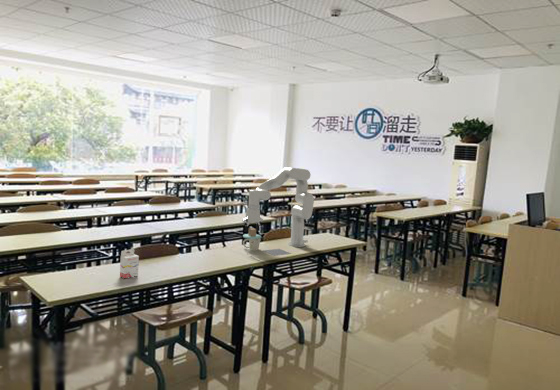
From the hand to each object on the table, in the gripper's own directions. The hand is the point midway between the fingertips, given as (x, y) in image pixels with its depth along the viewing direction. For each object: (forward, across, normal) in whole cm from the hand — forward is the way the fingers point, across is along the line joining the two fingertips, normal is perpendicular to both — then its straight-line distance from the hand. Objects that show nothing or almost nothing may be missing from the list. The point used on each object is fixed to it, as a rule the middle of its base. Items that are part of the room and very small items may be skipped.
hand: (252, 230), depth 321 cm
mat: (+14, -13, +14) cm, 24 cm away
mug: (+15, 0, 0) cm, 15 cm away
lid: (+4, 0, 0) cm, 4 cm away
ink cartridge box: (+15, +95, +27) cm, 100 cm away
